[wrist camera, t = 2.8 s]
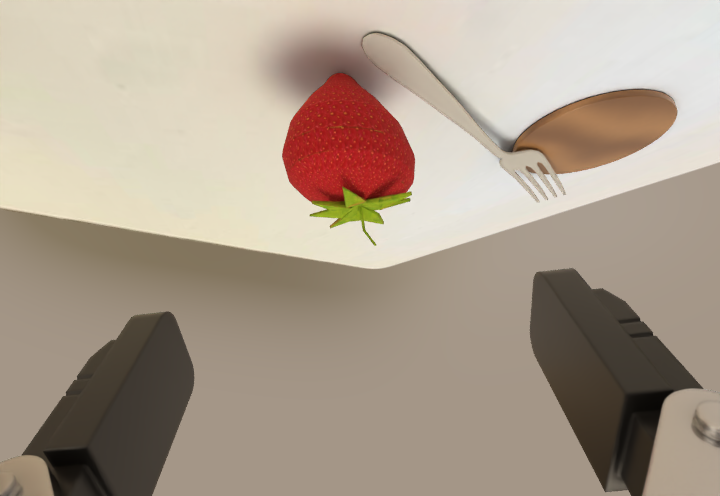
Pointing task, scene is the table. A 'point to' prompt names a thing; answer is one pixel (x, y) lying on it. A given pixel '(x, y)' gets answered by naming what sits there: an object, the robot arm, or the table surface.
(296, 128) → the strawberry
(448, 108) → the fork
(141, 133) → the table surface
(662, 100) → the copper coaster
